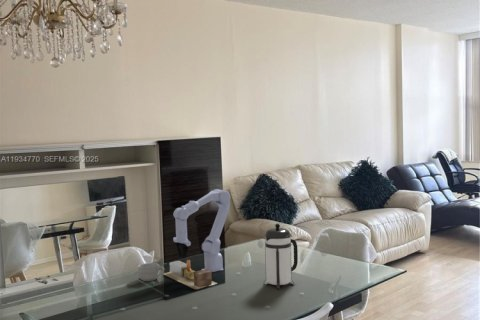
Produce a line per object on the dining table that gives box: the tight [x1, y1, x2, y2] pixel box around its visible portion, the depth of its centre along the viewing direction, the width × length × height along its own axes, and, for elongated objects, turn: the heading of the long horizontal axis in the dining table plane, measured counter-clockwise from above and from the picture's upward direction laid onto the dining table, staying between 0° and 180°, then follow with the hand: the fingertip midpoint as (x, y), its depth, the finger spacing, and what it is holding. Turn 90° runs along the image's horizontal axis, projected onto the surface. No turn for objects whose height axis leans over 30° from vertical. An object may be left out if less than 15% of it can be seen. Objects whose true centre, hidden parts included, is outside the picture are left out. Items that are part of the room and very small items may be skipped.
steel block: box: [169, 260, 187, 278], centre depth 253 cm, size 6×12×6 cm, turn 37°
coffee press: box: [263, 223, 299, 290], centre depth 234 cm, size 17×16×30 cm
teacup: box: [137, 262, 165, 282], centre depth 246 cm, size 14×11×8 cm
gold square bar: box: [183, 259, 197, 279], centre depth 249 cm, size 3×19×8 cm, turn 37°
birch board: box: [162, 271, 218, 290], centre depth 246 cm, size 13×33×1 cm, turn 37°
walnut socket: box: [194, 268, 213, 289], centre depth 235 cm, size 7×5×6 cm
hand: (182, 257), depth 250 cm, fingers open, 3 cm apart
